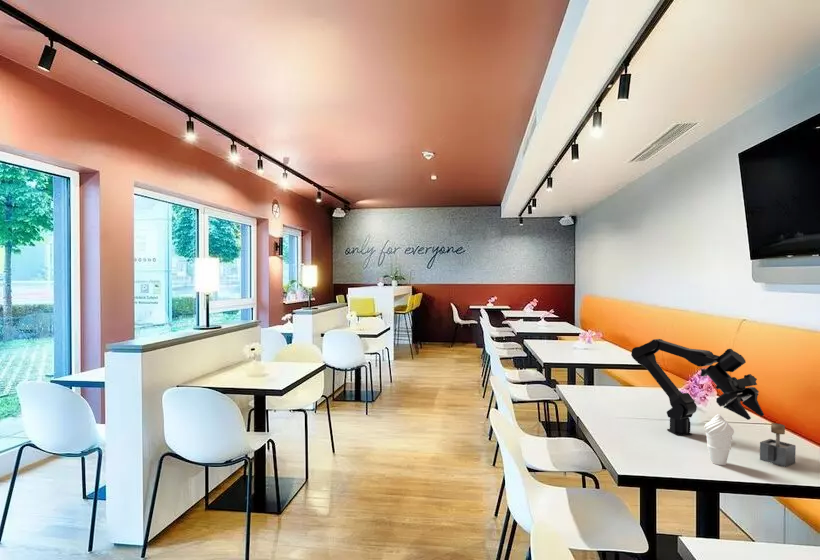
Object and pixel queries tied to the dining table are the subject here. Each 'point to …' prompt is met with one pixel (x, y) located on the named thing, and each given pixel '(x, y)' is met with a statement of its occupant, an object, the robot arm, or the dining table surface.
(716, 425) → the soft serve ice cream cone
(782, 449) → the box
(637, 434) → the dining table surface
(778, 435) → the plunger
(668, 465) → the dining table surface
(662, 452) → the dining table surface
